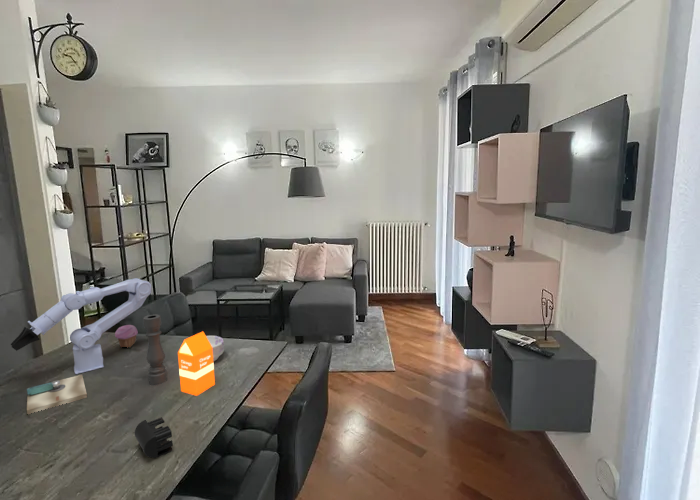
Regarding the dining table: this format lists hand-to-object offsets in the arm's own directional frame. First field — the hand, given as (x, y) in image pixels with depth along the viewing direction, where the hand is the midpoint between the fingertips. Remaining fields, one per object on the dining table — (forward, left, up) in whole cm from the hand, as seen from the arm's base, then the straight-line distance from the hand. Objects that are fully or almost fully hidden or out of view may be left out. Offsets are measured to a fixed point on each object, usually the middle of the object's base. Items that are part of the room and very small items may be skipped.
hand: (13, 347), depth 137 cm
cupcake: (-37, -19, -16) cm, 45 cm away
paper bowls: (-60, +18, -16) cm, 65 cm away
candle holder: (-40, +25, -16) cm, 50 cm away
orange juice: (-50, +40, -16) cm, 67 cm away
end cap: (-30, +66, -16) cm, 75 cm away
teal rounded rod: (-7, +11, -14) cm, 19 cm away
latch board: (-10, +13, -16) cm, 23 cm away
